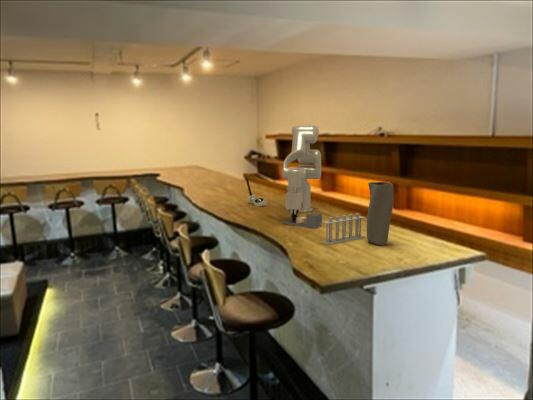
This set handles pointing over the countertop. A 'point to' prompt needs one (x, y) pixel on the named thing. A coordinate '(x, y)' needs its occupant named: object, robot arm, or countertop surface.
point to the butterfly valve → (253, 198)
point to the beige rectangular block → (301, 220)
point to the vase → (379, 212)
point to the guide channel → (293, 223)
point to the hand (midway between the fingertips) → (294, 220)
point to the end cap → (314, 220)
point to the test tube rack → (343, 229)
